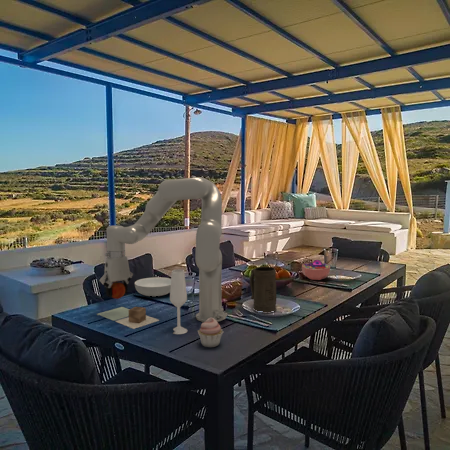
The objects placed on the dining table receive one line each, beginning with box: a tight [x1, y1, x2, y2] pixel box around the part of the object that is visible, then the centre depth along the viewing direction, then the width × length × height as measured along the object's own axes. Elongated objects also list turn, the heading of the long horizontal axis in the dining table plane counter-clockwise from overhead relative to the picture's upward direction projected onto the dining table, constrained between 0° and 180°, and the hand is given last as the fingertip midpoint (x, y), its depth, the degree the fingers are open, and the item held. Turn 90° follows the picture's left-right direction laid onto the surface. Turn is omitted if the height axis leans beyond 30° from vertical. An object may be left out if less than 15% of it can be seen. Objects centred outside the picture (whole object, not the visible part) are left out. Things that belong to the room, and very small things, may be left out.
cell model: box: [301, 259, 331, 281], centre depth 235 cm, size 17×20×11 cm
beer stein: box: [249, 266, 277, 312], centre depth 179 cm, size 15×10×20 cm
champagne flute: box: [169, 269, 188, 335], centre depth 152 cm, size 7×7×24 cm
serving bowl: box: [134, 276, 171, 298], centre depth 204 cm, size 21×21×7 cm
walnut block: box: [128, 306, 147, 323], centre depth 163 cm, size 5×5×5 cm
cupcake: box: [197, 318, 224, 348], centre depth 140 cm, size 9×9×10 cm
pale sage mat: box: [96, 306, 131, 321], centre depth 172 cm, size 13×13×1 cm
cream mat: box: [115, 314, 160, 330], centre depth 163 cm, size 13×13×1 cm
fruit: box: [111, 281, 126, 300], centre depth 171 cm, size 7×7×8 cm
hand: (117, 294), depth 171 cm, fingers closed on fruit, 7 cm apart
